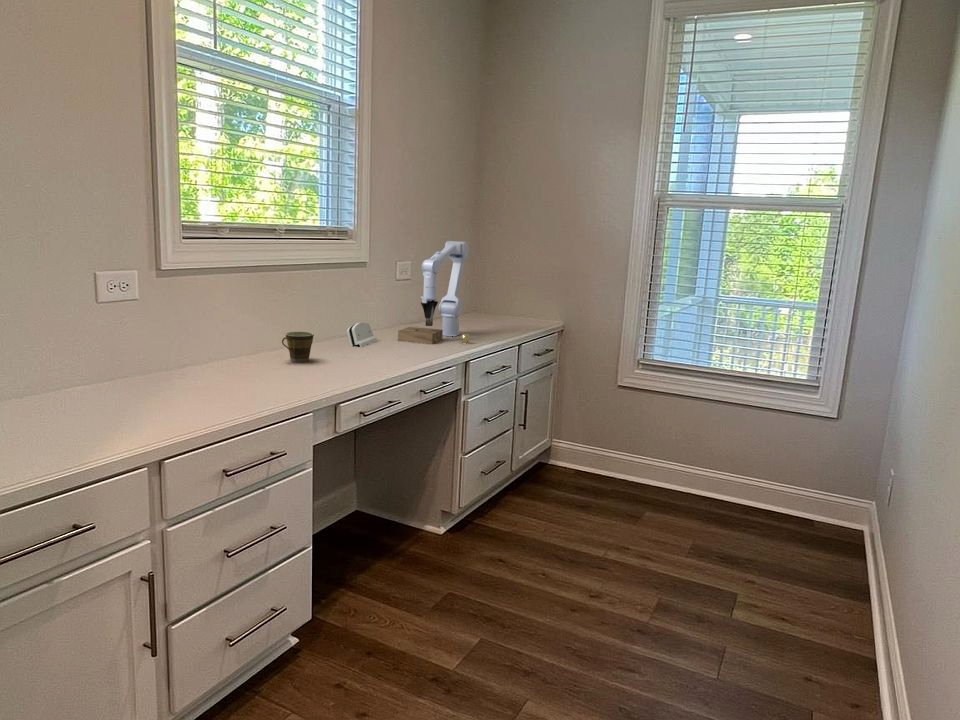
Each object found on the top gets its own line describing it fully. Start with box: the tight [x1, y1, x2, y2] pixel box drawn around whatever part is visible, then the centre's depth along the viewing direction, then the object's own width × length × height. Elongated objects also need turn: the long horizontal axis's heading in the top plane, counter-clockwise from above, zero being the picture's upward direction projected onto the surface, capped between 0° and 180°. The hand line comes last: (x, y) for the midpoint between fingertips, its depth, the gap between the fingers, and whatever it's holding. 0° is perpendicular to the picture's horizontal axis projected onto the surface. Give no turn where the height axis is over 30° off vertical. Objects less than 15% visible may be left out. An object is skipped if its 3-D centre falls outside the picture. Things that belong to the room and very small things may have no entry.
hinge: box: [346, 322, 378, 348], centre depth 294 cm, size 17×5×10 cm, turn 164°
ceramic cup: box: [281, 331, 314, 363], centre depth 253 cm, size 13×10×10 cm
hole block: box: [397, 326, 443, 345], centre depth 309 cm, size 14×16×4 cm
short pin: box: [460, 333, 470, 345], centre depth 307 cm, size 3×3×4 cm
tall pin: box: [425, 306, 434, 327], centre depth 306 cm, size 3×3×9 cm
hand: (429, 317), depth 307 cm, fingers closed on tall pin, 3 cm apart
